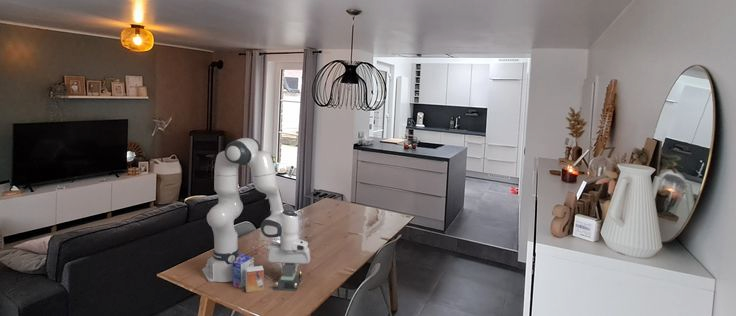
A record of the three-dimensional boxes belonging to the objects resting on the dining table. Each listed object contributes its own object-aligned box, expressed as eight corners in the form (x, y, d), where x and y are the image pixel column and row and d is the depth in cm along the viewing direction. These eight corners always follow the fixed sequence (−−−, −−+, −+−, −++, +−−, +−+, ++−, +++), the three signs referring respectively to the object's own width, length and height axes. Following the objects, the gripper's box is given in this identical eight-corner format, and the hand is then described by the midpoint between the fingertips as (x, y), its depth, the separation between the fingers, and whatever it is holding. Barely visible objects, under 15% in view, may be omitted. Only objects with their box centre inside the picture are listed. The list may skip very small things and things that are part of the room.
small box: (246, 293, 194) (246, 271, 192) (245, 287, 199) (245, 267, 197) (264, 290, 197) (264, 269, 195) (262, 285, 202) (262, 265, 200)
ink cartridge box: (245, 277, 209) (245, 250, 206) (254, 280, 207) (254, 252, 204) (232, 286, 200) (231, 257, 197) (241, 288, 198) (241, 259, 195)
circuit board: (280, 279, 199) (280, 268, 198) (285, 270, 209) (285, 260, 208) (293, 280, 199) (293, 268, 198) (297, 271, 209) (297, 260, 208)
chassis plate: (274, 289, 198) (274, 283, 197) (281, 276, 212) (281, 269, 212) (296, 291, 198) (296, 284, 197) (302, 277, 212) (302, 270, 212)
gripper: (266, 245, 199) (266, 272, 201) (309, 247, 198) (308, 274, 201) (269, 240, 205) (269, 267, 207) (311, 242, 205) (310, 268, 207)
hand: (289, 270), depth 204 cm, fingers closed on circuit board, 4 cm apart
